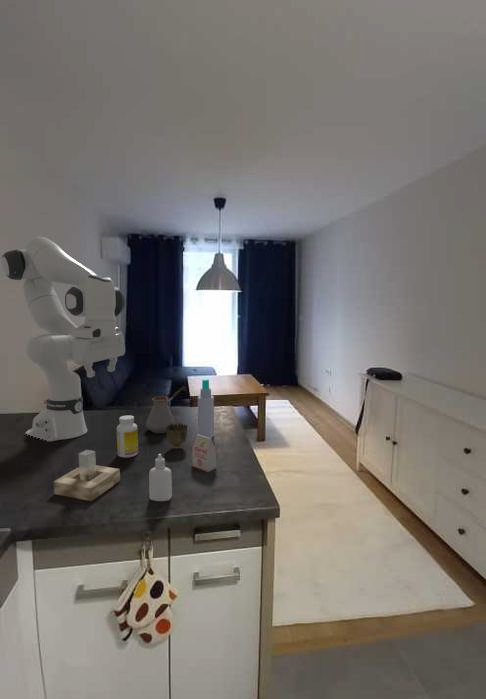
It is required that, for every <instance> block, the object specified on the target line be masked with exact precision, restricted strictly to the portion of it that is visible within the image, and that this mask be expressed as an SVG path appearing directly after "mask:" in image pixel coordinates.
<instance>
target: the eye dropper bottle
mask: <svg viewBox="0 0 486 699" xmlns="http://www.w3.org/2000/svg"><path fill="white" fill-rule="evenodd" d="M154 463H155V464H154V467H152V468H151V469H150V470H149V472H148V488H149V489H148V490H149V500H151V501H155V502H167V501H170V500H171V499H172V497H173V481H172V480H173V479H172V469H170V468H169V467H166V459H165V458H164V457H163V456H162V453H158V456H157V457H156V459H155V460H154Z"/></svg>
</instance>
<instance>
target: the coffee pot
mask: <svg viewBox="0 0 486 699" xmlns="http://www.w3.org/2000/svg"><path fill="white" fill-rule="evenodd" d="M187 389H188V388H187V387H186V386H185V385H183V386H182V387H180V388H179V390H177V391H175V393H174V394H173V395H172V396H171V397H168V396H156V397H155V396H154V397H153V398H151V400H152V403H153V405H152V407H151V410H150V412H149V414H148V418H147V420H146V422H145V426H146V428H147V430H149V431H150V432H152V433H153V434H165V433H166V428H167V425H170V424H173V425H175V424H176V420H175V418H174V416H173V413H172V412H171V409H170V407H169V406H168V404H169V403H170V402H171V401H172V400H173V399H174V398H176V397H177V395H179V394H180V393H181V392H183V391H187Z"/></svg>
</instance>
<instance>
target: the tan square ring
mask: <svg viewBox="0 0 486 699" xmlns="http://www.w3.org/2000/svg"><path fill="white" fill-rule="evenodd" d="M120 471H121V469H120V468H115V467H111V466H110V467H108V466H102V465H99V464H98V465H97V464H96V478H94V479H93V480H91V481H84V480H80V472H79V466H78V467H76V468H74V469H73V470H71V471H69V472H68V473H66V474H64V475H62V476H61V477H58V478H57V479H55V480H54V481H53V494H54V495H58V496H63V497H67V498H72V499H78V500H84V501H88V502H93V501H95V500H96V499H97V498H99V497H100V496H101V495H103V494H104V493H105V492H107V491H108V490H109V489H111V488H112V487H115V485H117V484H118V483H120V481H121V472H120Z"/></svg>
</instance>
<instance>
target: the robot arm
mask: <svg viewBox="0 0 486 699" xmlns="http://www.w3.org/2000/svg"><path fill="white" fill-rule="evenodd" d="M1 268H2V270H3V272H4V274H5V276H6V277H7V278H8V279H10V280H14V281H22V280H24V282H23V283H22V290H23V295H24V298H25V302H26V305H27V307H28V310H29V313H30V314H31V317H32V319H33V322H34V324H35V325H36V326H37V327H38V328H39V329H40V330H43V331H46V332H47V333H43V334H39V335H37V336H33V337H31V338H29V340H28V342H27V343H26V346H25V347H26V348H25V349H26V355H27V358H28V359H29V360H30V361H31V363H33V364H35V365H37V366H38V367H40V369H41V370H42V371H43V373H44V375H45V377H46V380H47V386H48V396H49V398H48V399H46V400H45V399H44V402H43V404H46V406H45V408H44V409H43V410H42V411H40V412H39V413H38V414H37V415H36V416H35V417H34V418H33V419H32V428H30V429H28V430H27V431H25V435H26V434H27V435H26V436H28V435H30V436H29V437H31V436H33V437H32V438H35V437H36V438H35V439H38V438H40V439H39V440H42V439H43V440H42V441H45V440H46V441H45V442H54V441H59V440H61V441H62V440H68V439H75V438H78V437H81V436H83V435H85V434H87V432H88V428H87V424H86V421H85V416H84V410H83V408H84V406H83V405H84V402H83V401H84V398H83V395H82V387H81V386H82V385H81V384H82V383H81V378H80V375H79V374H78V373H77V372H75V371H72V370H70V369H69V367H68V366H69V365H68V362H72V361H73V362H74V364H76V365H83V368H84V370H85V371H86V377H87V378H94V377H96V371H95V370H93V368H92V367H93V366H94V363H96V362H101V361H105V360H109V363H108V364H109V365H107V366H106V367H107V370H106V371H107V372H110V373H112V372H115V370H116V364H117V362H118V357H122V356H124V355H125V354H126V343H125V342H126V341H125V337H124V334H123V330H122V329H121V328H120V327H117V320H116V319H117V318H116V317H118V316H119V315H120V314H121V313H122V312H123V310H124V309H125V307H126V300H125V295H124V294H123V292H122V290H120V289H119V287H117V286H116V285H115V284H114V280H113V278H111V277H108V276H106V275H101V274H97V273H95V272H94V271H93V270H91V269H90V268H88V267H87V266H86V265H83V264H82V263H80V262H78V261H77V260H76V259H74V258H73V257H71V256H70V255H68V253H66V252H65V251H64V250H63V249H62V248H61V247H60V245H58V244H56V243H55V242H54V241H52V240H51V239H49V238H48V237H44V236H36V237H33V238H31V239H30V240H29V241H28V242H27V245H26V248H23V249H12V250H8V251H5V252H4V254H2V256H1ZM53 283H56V284H57V283H58V284H64V285H72V286H71V287H70V288H69V289H68V290H67V291H66V293H65V296H64V305H65V308H66V310H67V311H68V312H69V313H70V314H71V315H72V316H75V317H84V323H82V324H81V325H79V326H77V325H76V324H75V323H74V322H73V321H72V320H71V319H70V317H69V316H68V315H67V313H66V311H65V309H64V307H63V305H62V303H61V300H60V299H59V296H58V294H57V293H56V290H55V289H54V286H53Z"/></svg>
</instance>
